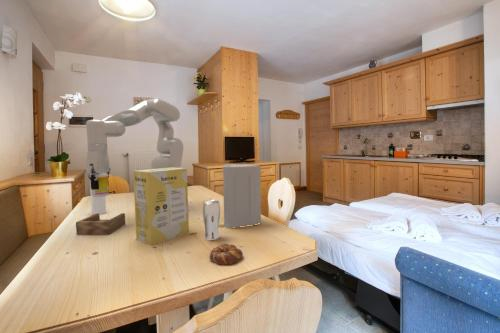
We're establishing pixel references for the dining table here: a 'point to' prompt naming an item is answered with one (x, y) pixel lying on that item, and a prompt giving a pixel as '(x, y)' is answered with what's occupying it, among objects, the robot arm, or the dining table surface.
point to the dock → (99, 225)
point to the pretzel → (225, 254)
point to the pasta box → (160, 204)
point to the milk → (98, 204)
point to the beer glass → (211, 219)
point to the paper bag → (241, 195)
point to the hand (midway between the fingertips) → (100, 187)
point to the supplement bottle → (101, 186)
